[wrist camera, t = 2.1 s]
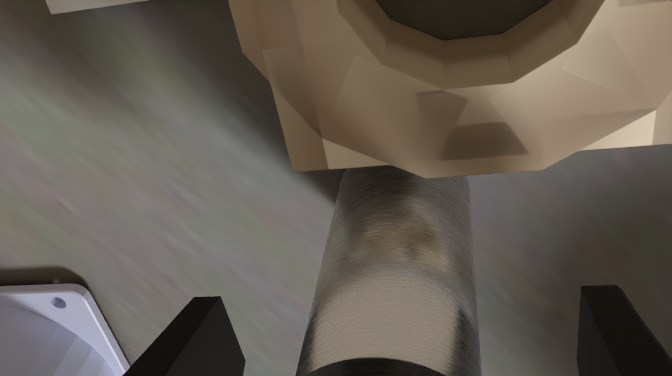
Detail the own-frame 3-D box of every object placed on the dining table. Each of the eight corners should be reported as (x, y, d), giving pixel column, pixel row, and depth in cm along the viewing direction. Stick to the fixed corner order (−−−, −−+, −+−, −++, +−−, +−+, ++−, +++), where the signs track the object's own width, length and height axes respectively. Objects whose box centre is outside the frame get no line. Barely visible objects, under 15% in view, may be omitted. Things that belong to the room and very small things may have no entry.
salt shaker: (349, 246, 18) (286, 591, 10) (327, 141, 16) (231, 473, 9) (474, 240, 17) (500, 606, 10) (467, 129, 15) (491, 481, 8)
